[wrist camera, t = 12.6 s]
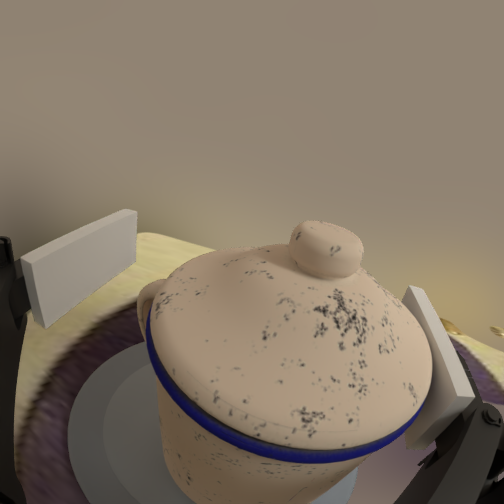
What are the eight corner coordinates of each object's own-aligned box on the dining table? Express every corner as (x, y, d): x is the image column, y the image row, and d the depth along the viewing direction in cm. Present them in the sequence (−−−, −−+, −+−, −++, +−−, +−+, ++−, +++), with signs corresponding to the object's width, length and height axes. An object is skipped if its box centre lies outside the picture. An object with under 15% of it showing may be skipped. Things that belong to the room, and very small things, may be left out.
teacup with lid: (355, 430, 14) (463, 252, 9) (279, 557, 6) (521, 431, 2) (196, 341, 19) (220, 165, 14) (87, 409, 12) (42, 182, 7)
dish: (350, 379, 19) (356, 367, 19) (334, 586, 5) (346, 586, 4) (153, 320, 22) (153, 307, 21) (24, 471, 7) (13, 461, 7)
